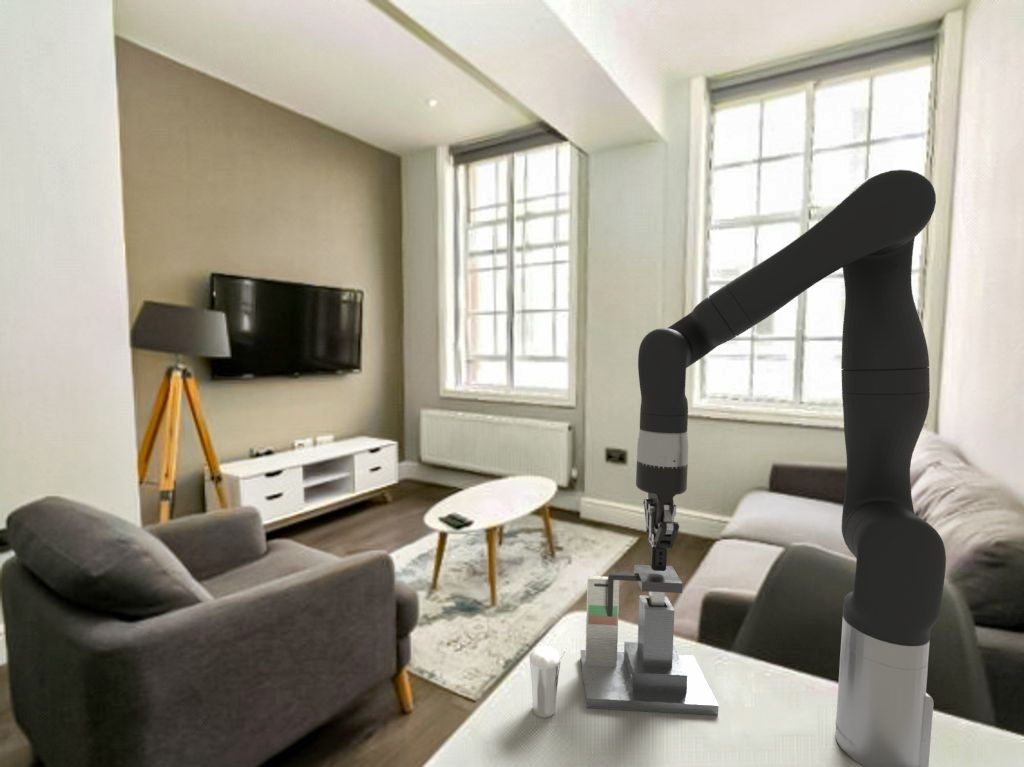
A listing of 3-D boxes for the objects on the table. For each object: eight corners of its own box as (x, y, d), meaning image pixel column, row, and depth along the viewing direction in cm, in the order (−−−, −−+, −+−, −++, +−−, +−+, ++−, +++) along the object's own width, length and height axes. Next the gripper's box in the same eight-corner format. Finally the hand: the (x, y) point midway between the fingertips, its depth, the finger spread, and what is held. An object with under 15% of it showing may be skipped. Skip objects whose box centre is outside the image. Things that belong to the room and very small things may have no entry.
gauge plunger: (669, 634, 82) (671, 566, 81) (679, 657, 76) (682, 583, 75) (604, 631, 83) (606, 563, 82) (609, 653, 77) (611, 580, 76)
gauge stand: (693, 664, 85) (697, 572, 84) (718, 715, 73) (723, 609, 72) (580, 658, 86) (583, 567, 85) (587, 708, 74) (590, 603, 73)
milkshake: (561, 726, 71) (562, 657, 70) (524, 716, 72) (526, 650, 72) (567, 704, 75) (569, 640, 74) (533, 696, 77) (534, 633, 76)
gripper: (700, 470, 71) (695, 590, 72) (675, 451, 84) (671, 552, 85) (646, 468, 71) (642, 587, 72) (629, 450, 84) (626, 551, 85)
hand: (657, 568), depth 78 cm, fingers closed
